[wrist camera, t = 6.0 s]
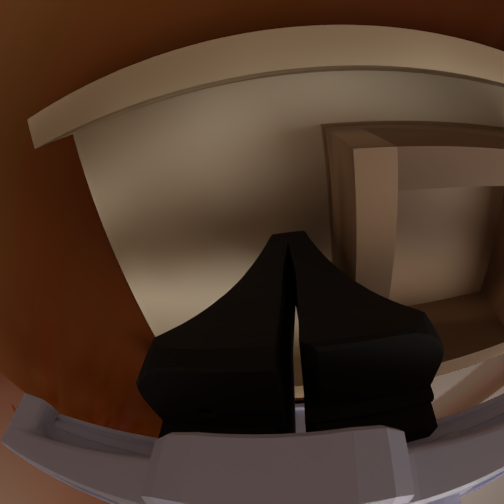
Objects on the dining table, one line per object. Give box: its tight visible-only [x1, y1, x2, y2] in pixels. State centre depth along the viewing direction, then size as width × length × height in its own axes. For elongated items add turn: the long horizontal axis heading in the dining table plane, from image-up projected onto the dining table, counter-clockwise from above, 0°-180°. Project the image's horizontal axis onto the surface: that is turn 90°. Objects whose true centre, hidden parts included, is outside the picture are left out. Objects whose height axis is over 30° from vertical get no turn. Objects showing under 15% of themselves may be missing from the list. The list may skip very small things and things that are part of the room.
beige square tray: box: [321, 121, 504, 376], centre depth 9 cm, size 9×9×4 cm
